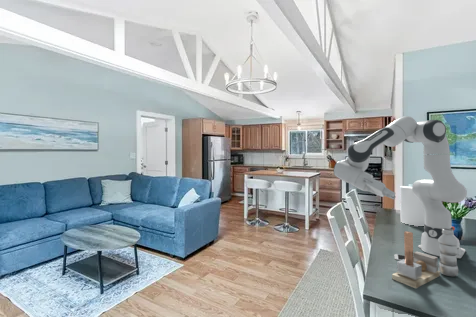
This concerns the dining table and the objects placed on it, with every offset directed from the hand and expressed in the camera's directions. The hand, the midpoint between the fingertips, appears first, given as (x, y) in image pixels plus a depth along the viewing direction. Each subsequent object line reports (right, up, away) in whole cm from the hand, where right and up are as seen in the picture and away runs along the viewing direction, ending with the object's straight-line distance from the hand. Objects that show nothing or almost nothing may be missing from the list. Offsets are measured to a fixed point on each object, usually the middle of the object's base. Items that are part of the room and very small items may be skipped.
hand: (394, 196), depth 111 cm
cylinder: (+64, -33, +76) cm, 104 cm away
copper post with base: (0, -32, -9) cm, 33 cm away
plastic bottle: (+20, -34, -5) cm, 40 cm away
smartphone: (+16, -34, +11) cm, 40 cm away
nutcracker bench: (+5, -34, -6) cm, 35 cm away
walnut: (+9, -32, -4) cm, 33 cm away
